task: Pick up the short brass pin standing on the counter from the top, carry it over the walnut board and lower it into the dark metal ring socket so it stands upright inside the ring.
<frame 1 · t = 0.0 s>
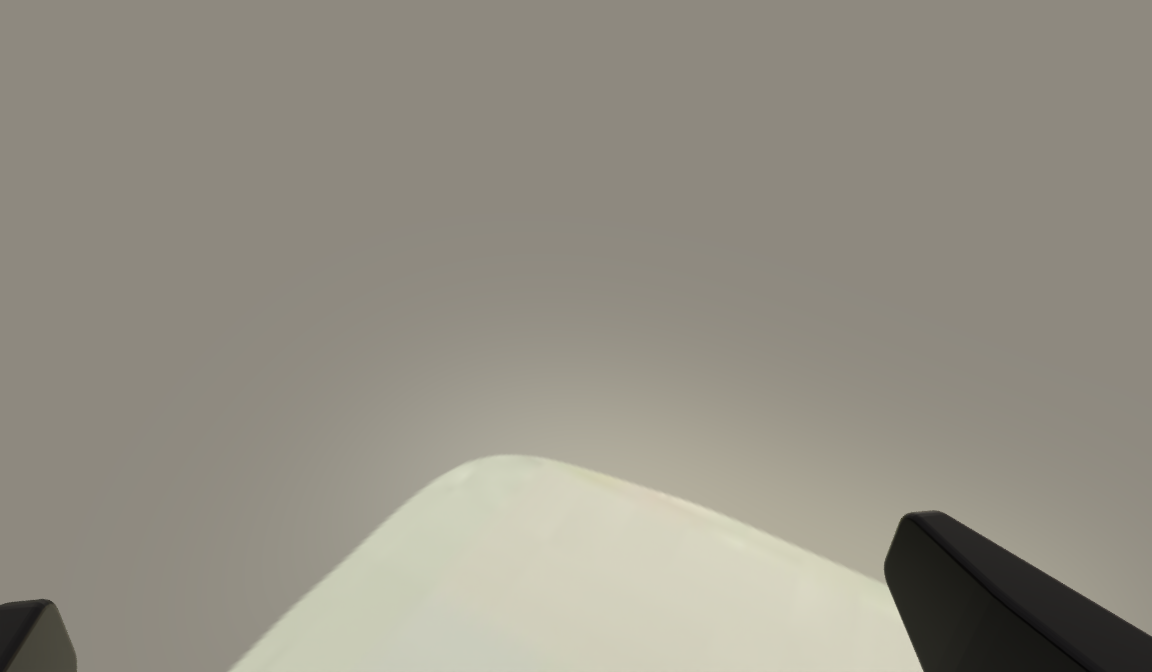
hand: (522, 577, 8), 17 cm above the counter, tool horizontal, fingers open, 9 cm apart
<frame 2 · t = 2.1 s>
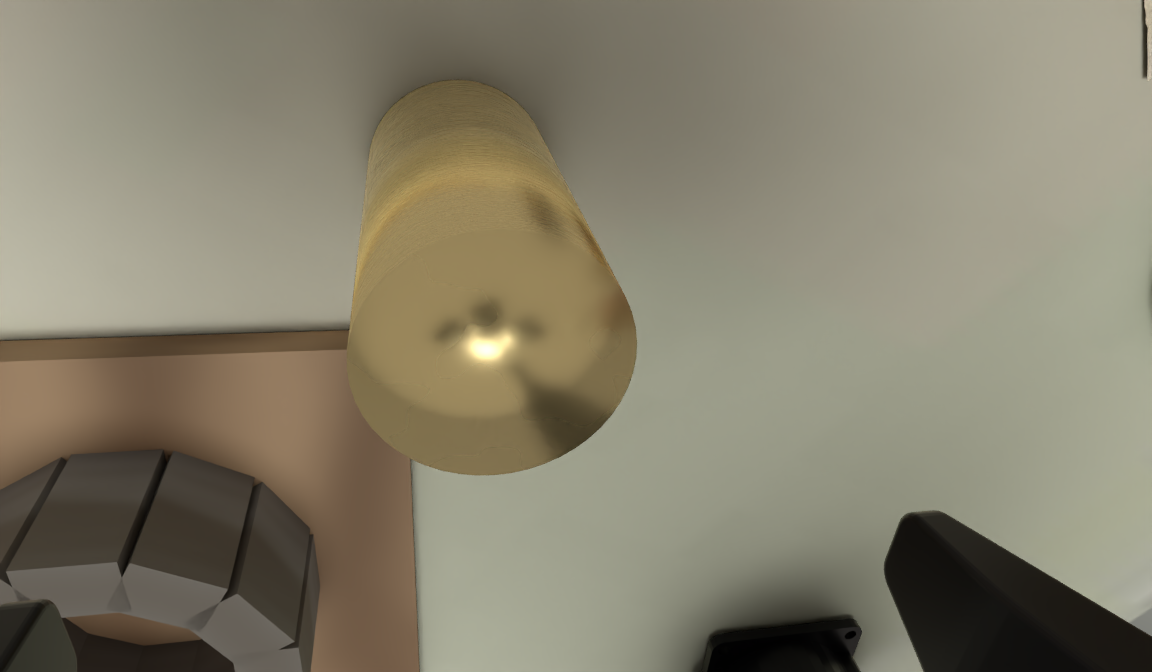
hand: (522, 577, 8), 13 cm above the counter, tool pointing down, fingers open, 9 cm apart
brass pin: (459, 170, 19), on the counter
ring socket: (161, 549, 24), on the counter
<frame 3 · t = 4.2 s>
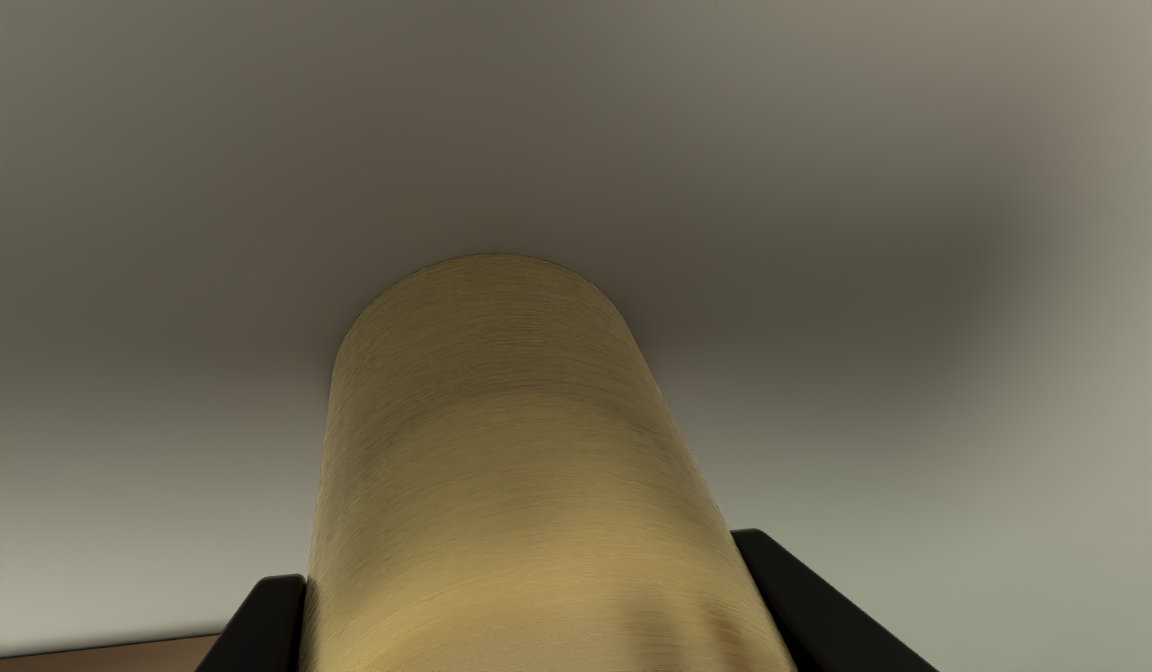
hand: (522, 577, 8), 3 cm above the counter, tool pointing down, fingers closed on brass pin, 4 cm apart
brass pin: (490, 392, 11), on the counter, touching gripper
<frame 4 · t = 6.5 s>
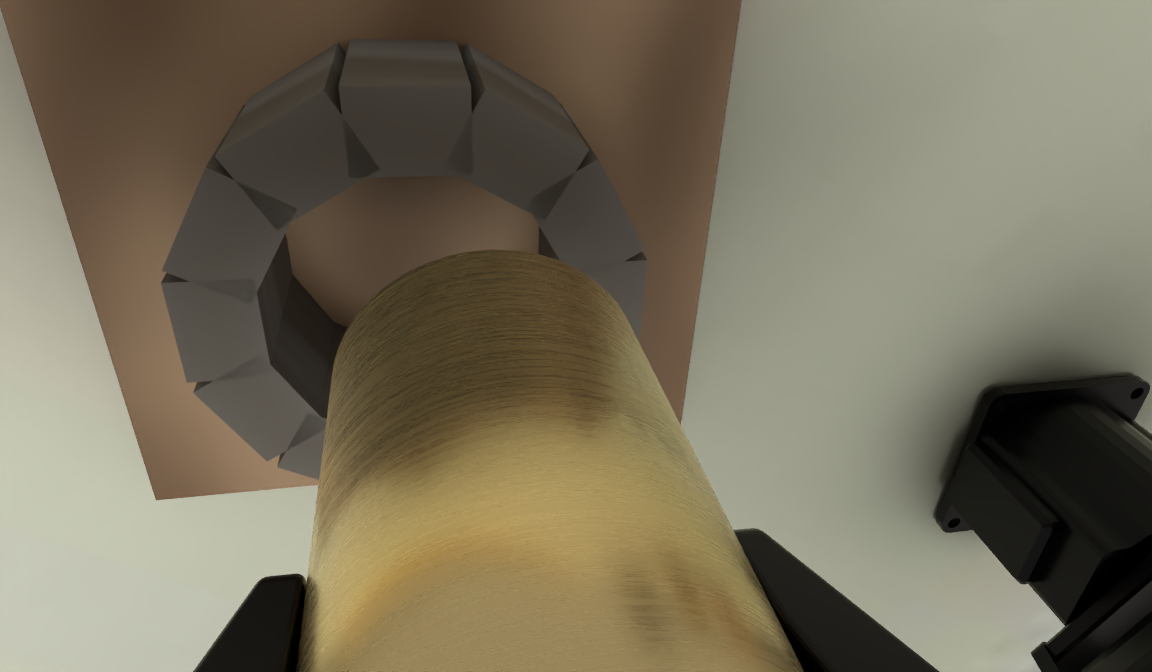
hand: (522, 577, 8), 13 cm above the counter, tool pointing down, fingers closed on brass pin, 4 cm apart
brass pin: (491, 388, 11), point 10 cm above the counter, touching gripper
ring socket: (416, 222, 20), on the counter
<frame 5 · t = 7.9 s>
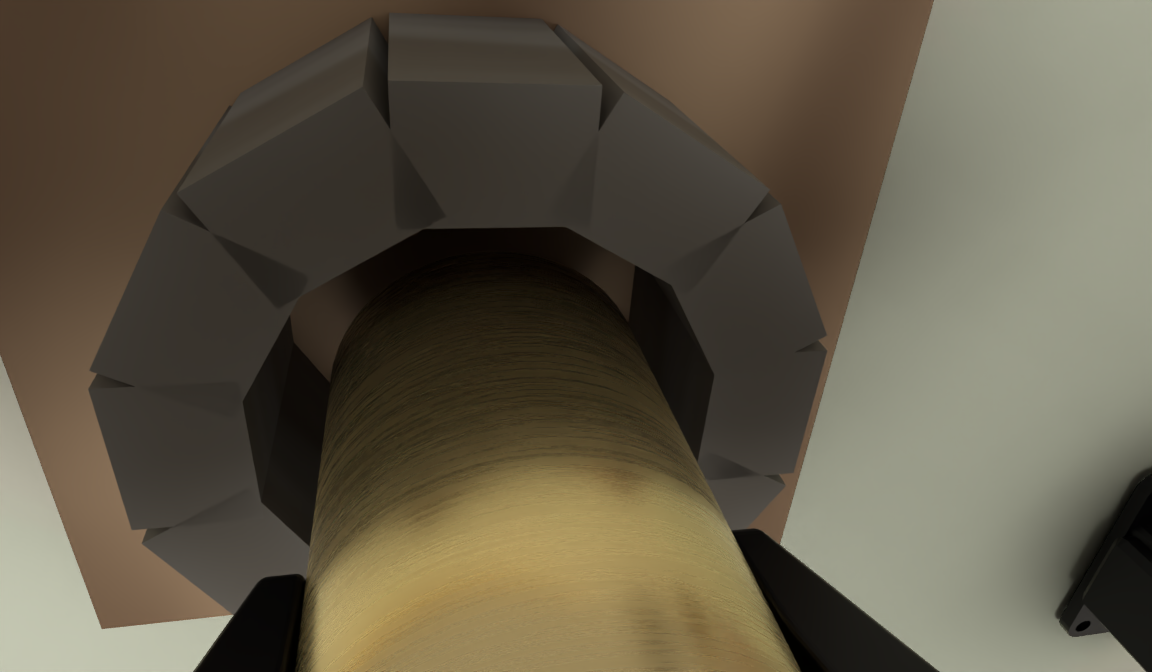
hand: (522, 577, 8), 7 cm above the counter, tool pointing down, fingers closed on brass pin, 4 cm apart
brass pin: (490, 390, 11), point 4 cm above the counter, touching gripper
ring socket: (463, 269, 14), on the counter
when the fingers open (6 cm above the counter, at t = 9.0 s): brass pin drops 2 cm, resting on ring socket.
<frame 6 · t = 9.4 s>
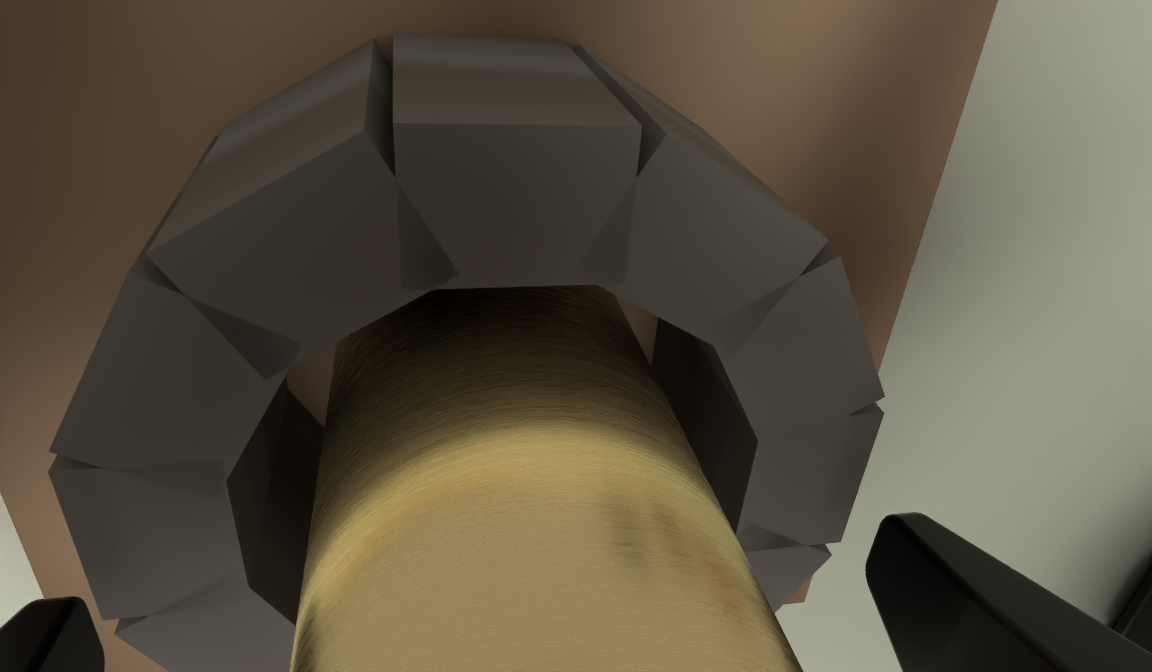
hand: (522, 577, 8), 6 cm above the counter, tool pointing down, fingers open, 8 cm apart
brass pin: (482, 335, 12), point 1 cm above the counter, touching ring socket
ring socket: (473, 307, 13), on the counter
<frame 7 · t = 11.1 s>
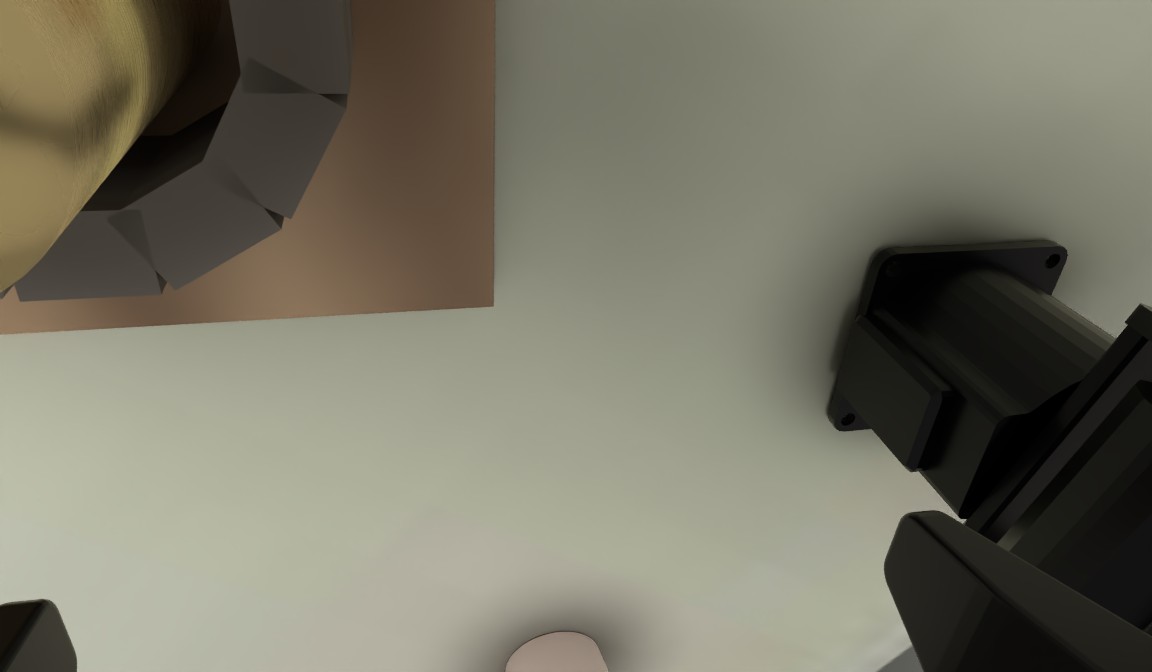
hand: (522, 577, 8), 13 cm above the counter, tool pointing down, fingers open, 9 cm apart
smoothie: (552, 659, 30), on the counter
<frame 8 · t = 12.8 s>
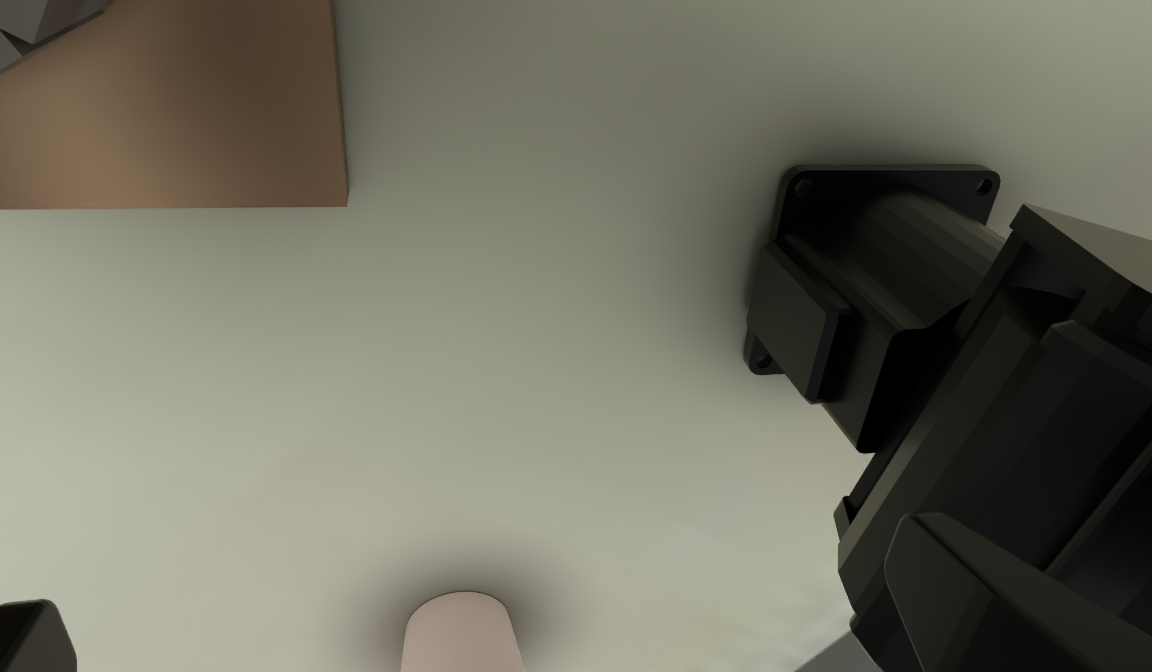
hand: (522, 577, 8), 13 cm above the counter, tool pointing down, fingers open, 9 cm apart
smoothie: (458, 622, 28), on the counter
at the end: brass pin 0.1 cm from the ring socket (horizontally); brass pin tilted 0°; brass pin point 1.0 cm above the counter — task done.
